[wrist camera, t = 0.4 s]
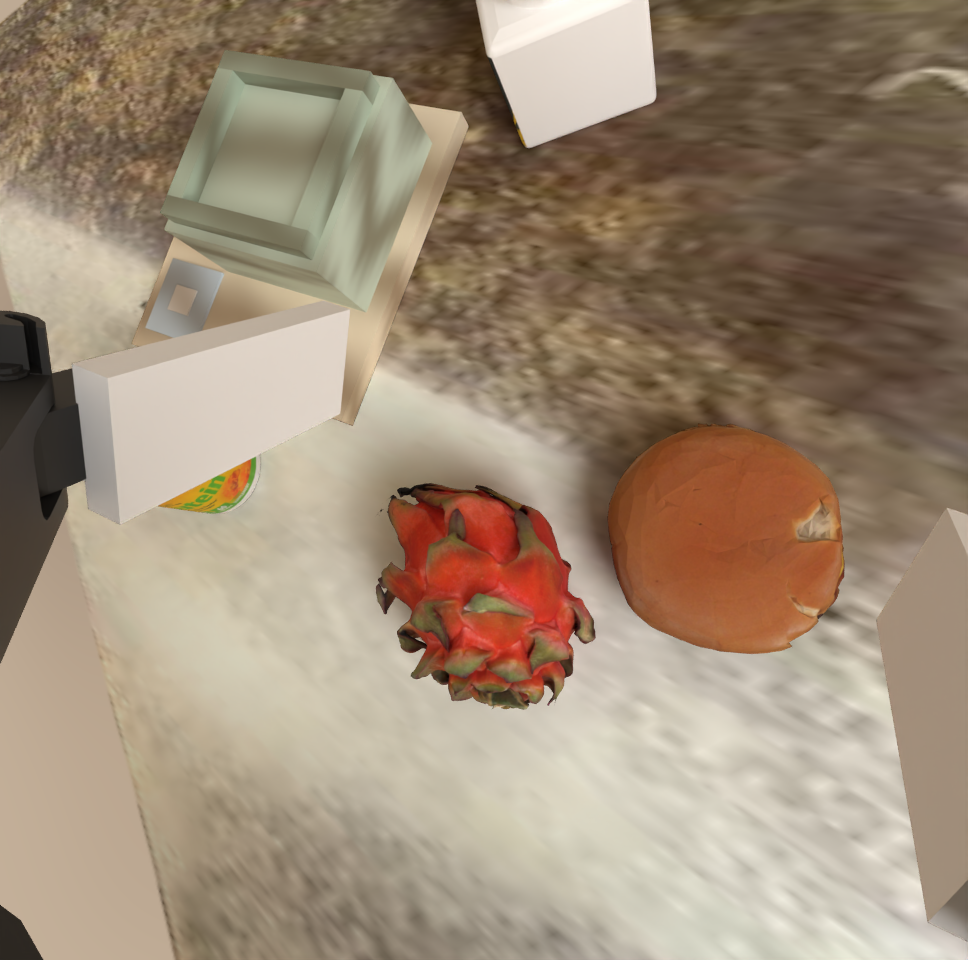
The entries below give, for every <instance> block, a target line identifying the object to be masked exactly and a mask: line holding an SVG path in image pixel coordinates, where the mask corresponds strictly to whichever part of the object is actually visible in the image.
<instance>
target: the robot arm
mask: <svg viewBox="0 0 968 960" xmlns="http://www.w3.org/2000/svg"><path fill="white" fill-rule="evenodd" d="M349 317H350V309H348V308H345V307H342V306H339V305H336V304H333V303H330V302H327V301H320V302H316V303H312V304H308V305H304V306H300V307H296V308H292V309H288V310H284V311H280V312H276V313H272V314H268V315H264V316H260V317H256V318H252V319H248V320H244V321H240V322H236V323H232V324H228V325H224V326H220V327H215V328H211V329H207V330H203V331H199V332H195V333H191V334H187V335H183V336H179V337H175V338H171V339H167V340H163V341H159V342H155V343H151V344H147V345H143V346H139V347H135V348H131V349H127V350H123V351H119V352H115V353H111V354H107V355H103V356H99V357H95V358H91V359H87V360H83V361H79V362H75V363H72V369H68V370H64V371H60V372H56V373H52V371H51V364H50V356H49V348H48V340H47V333H46V325H45V322H44V321H42V320H41V319H40V318H38V317H35V316H32V315H29V314H25V313H19V312H12V311H0V663H1V661H2V659H3V656H4V654H5V652H6V649H7V647H8V645H9V642H10V640H11V638H12V635H13V633H14V631H15V628H16V626H17V624H18V621H19V619H20V617H21V614H22V612H23V610H24V608H25V605H26V603H27V600H28V598H29V596H30V594H31V591H32V589H33V587H34V584H35V582H36V580H37V577H38V575H39V573H40V570H41V568H42V566H43V563H44V561H45V559H46V556H47V554H48V552H49V550H50V547H51V545H52V542H53V540H54V538H55V536H56V533H57V531H58V529H59V526H60V524H61V522H62V519H63V517H64V515H65V512H66V510H67V508H68V495H67V487H68V486H71V485H73V484H75V483H78V482H80V481H83V480H85V485H86V494H87V503H88V509H89V510H91V511H93V512H95V513H97V514H99V515H101V516H103V517H106V518H108V519H110V520H112V521H114V522H116V523H118V524H120V525H121V524H123V523H125V522H127V521H129V520H131V519H133V518H135V517H137V516H139V515H141V514H143V513H145V512H147V511H149V510H151V509H153V508H155V507H156V506H158V505H160V504H162V503H164V502H166V501H168V500H170V499H172V498H174V497H176V496H178V495H180V494H182V493H184V492H186V491H188V490H190V489H192V488H194V487H196V486H198V485H200V484H202V483H204V482H206V481H208V480H210V479H212V478H214V477H216V476H218V475H220V474H222V473H224V472H226V471H228V470H230V469H232V468H234V467H236V466H238V465H240V464H242V463H244V462H246V461H248V460H250V459H252V458H254V457H256V456H258V455H260V454H262V453H264V452H266V451H267V450H269V449H271V448H273V447H275V446H277V445H279V444H281V443H283V442H285V441H287V440H289V439H291V438H293V437H295V436H297V435H299V434H301V433H303V432H305V431H307V430H309V429H311V428H313V427H315V426H317V425H319V424H321V423H323V422H325V421H327V420H329V419H331V418H333V417H335V416H337V415H339V414H340V411H341V401H342V391H343V380H344V370H345V359H346V349H347V338H348V328H349ZM876 622H877V628H878V634H879V640H880V645H881V651H882V657H883V663H884V669H885V675H886V681H887V686H888V692H889V698H890V704H891V710H892V716H893V722H894V727H895V733H896V739H897V745H898V751H899V757H900V763H901V768H902V774H903V780H904V786H905V792H906V798H907V804H908V809H909V815H910V821H911V827H912V833H913V839H914V844H915V850H916V856H917V862H918V868H919V874H920V880H921V885H922V891H923V897H924V903H925V909H926V915H927V921H928V923H930V924H932V925H934V926H936V927H938V928H940V929H943V930H945V931H947V932H949V933H951V934H953V935H955V936H957V937H959V938H961V939H963V940H965V941H967V942H968V515H967V514H964V513H961V512H958V511H955V510H952V509H949V508H946V509H945V511H944V512H943V514H942V516H941V517H940V519H939V520H938V522H937V524H936V525H935V527H934V528H933V530H932V532H931V533H930V535H929V536H928V538H927V540H926V541H925V543H924V544H923V546H922V548H921V549H920V551H919V552H918V554H917V556H916V557H915V559H914V560H913V562H912V564H911V565H910V567H909V568H908V570H907V572H906V573H905V575H904V576H903V578H902V580H901V581H900V583H899V584H898V586H897V588H896V589H895V591H894V592H893V594H892V596H891V597H890V599H889V600H888V602H887V604H886V605H885V607H884V608H883V610H882V612H881V613H880V615H879V616H878V618H877V620H876ZM0 960H43V959H42V957H41V955H40V953H39V952H38V950H37V948H36V946H35V944H34V943H33V941H32V939H31V938H30V936H29V934H28V932H27V930H26V929H25V927H24V925H23V923H22V922H21V920H20V919H18V918H17V917H16V916H14V915H13V914H11V913H10V912H9V911H7V910H6V909H5V908H3V907H2V906H1V905H0Z"/></svg>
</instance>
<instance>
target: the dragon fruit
mask: <svg viewBox="0 0 968 960" xmlns="http://www.w3.org/2000/svg"><path fill="white" fill-rule="evenodd" d="M475 488H477V489H479V490H477V491H472V490H457V489H452V488H448V487H445V486H442V485H437V484H432V483H429V484H422V485H416V486H414V487H412V488H411V489H409V488H406V487H404V488H399V489H398V490H397V491H398V493H399V495H400V497H403V496H404V495H411V496H412V497H415V498H416V500H417V501H418V502H419V503H418V504H417V505H412V504H411V503H408V502H407V501H405V500H400V499H397V498H396V496H394V495H392V496H391V497H390V498H391V501H390V503H389V508H388V511H387V513H388V515H389V518H390V521H391V523H392V525H393V527H394V528H395V530H396V533H397V535H398V540H399V542H400V544H401V546H402V547H403V548H404V551H405V570H404V571H402V570H401V569H399V568H397V567H396V566H395V565H393V563H392V562H391V563H390V564H389V566H388V567H386V568H385V569H384V570H383V571H382V573H381V574H382V577H381V578H379V579H378V581H379V583H380V584H378V585H377V586H376V594H377V599H378V603H379V604H380V606H381V608H382V610H383V612H384V614H387V610H388V608H389V607H390V605H391V604H392V602H393V600H394V599H395V597H397V598H399V599H400V600H401V601H403V602H404V603H406V604H407V605H408V606H409V607H410V609H411V610H412V614H411V617H410V619H409V621H408V622H407V623H405V624H404V625H403V626H401V628H400V629H399V630H398V631H397V635H398V637H399V642H400V644H401V645H400V646H401V648H402V649H403V650H404V651H406V652H408V653H414V652H416V651H418V650H420V649H421V648H425V649H426V651H425V653H424V654H423V656H422V658H421V660H420V662H419V664H418V665H417V667H416V669H415V670H414V672H412V673H411V677H412V678H414V679H420V678H421V677H426V676H428V675H429V674H430V673H431V675H432V676H433V679H434V680H436V681H437V682H438V683H440V684H442V685H446V684H448V689H449V693H450V695H451V700H452V701H461V700H466V699H470V698H471V697H473V698H474V699H475V700H476V701H478V702H481V703H485V704H486V703H487V704H488V705H489V706H493V708H495V707H501V708H503V709H509V708H510V707H511V708H519V709H523V710H524V709H527V707H528V706H529V704H528V703H530V702H531V703H534V704H537V703H538V702H539V701H540V700H541V699H542V697H543V695H544V685H546V686H548V687H549V688H550V689H551V690H552V692H553V693H554V694H553V697H552V698H551V699H550V701H549V703H548V704H547V705H548V706H549V704H550V703H551V702H552V701H553V700H554V699H556V698H557V696H558V695H559V693H560V692H561V690H562V689H563V686H564V678H566V677H568V676H571V674H572V673H573V648H572V646H571V645H570V644H569V643H568V640H569V638H570V636H571V634H572V633H573V632H574V631H575V633H574V634H575V635H576V636H578V638H579V640H580V641H581V642H582V643H584V644H587V643H589V642H591V641H593V640H594V639H595V630H594V620H593V618H592V616H591V615H590V613H589V611H588V610H587V609H586V607H585V605H584V603H583V601H582V599H580V598H576V597H574V596H573V595H572V594H571V593H570V592H568V576H569V572H570V571H571V565H570V564H569V563H568V562H567V561H565V560H563V559H561V557H560V554H559V551H558V548H557V544H556V541H555V537H554V535H553V532H552V528H551V526H550V524H549V523H548V521H547V520H546V519H545V517H544V516H543V515H542V514H541V513H540V512H539V511H537V510H535V509H533V508H531V507H529V506H526V505H522V504H520V503H518V502H515V501H513V500H511V499H510V498H507V497H504V496H502V495H500V494H498V493H497V492H495V491H493V490H492V489H489V488H487V487H484V486H478V485H476V487H475ZM490 490H491V491H490ZM492 491H493V492H492ZM490 494H491V495H492V496H491V495H490ZM381 509H382V508H381ZM381 511H382V510H381ZM380 585H381V586H380ZM381 587H382V588H387V589H388V590H387V591H386V593H385V594H384V592H383V590H382V588H381ZM418 637H421V638H422V640H423V641H424V642H425V643H426V644H427V645H426V644H425V643H423V642H421V641H418V640H416V639H415V638H418ZM555 701H556V700H555ZM493 708H492V709H493Z"/></svg>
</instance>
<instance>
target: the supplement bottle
mask: <svg viewBox="0 0 968 960" xmlns="http://www.w3.org/2000/svg"><path fill="white" fill-rule="evenodd" d="M260 468H261V460H260V455H258V456H256V457H254V458H252V459H250V460H248V461H246V462H244V463H242V464H240V465H238V466H236V467H234V468H232V469H230V470H228V471H226V472H224V473H222V474H220V475H218V476H216V477H214V478H212V479H210V480H208V481H206V482H204V483H202V484H200V485H198V486H196V487H194V488H192V489H190V490H188V491H186V492H184V493H182V494H180V495H178V496H176V497H174V498H172V499H170V500H168V501H166V502H164V503H162V504H160V505H158V506H160V507H167V508H174V509H181V510H188V511H195V512H201V513H210V514H222V513H227V512H230V511H232V510H234V509H236V508H238V507H239V506H241V505H242V504H243V503H244V502H245V501H246V500H247V499H248V498H249V497H250V495H251V494H252V492H253V491H254V489H255V487H256V484H257V482H258V479H259V475H260ZM83 481H85V480H83Z"/></svg>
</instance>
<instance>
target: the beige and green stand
mask: <svg viewBox="0 0 968 960" xmlns="http://www.w3.org/2000/svg"><path fill="white" fill-rule="evenodd" d="M468 127H469V126H468V124H467V122H466V120H465V118H464V116H463V114H462V112H457V111H451V110H445V109H439V108H433V107H427V106H420V105H414V104H408V102H407V101H406V99H405V97H404V96H403V94H402V92H401V91H400V89H399V87H398V86H397V84H396V83H395V81H394V79H393V78H389V77H382V76H375V75H373V74H372V73H371V71H365V70H358V69H352V68H345V67H338V66H331V65H324V64H317V63H311V62H304V61H297V60H290V59H283V58H276V57H270V56H263V55H256V54H249V53H242V52H235V51H229V50H225V51H224V54H223V56H222V59H221V61H220V64H219V66H218V69H217V71H216V74H215V76H214V79H213V81H212V84H211V86H210V89H209V91H208V94H207V96H206V99H205V101H204V104H203V106H202V109H201V111H200V114H199V116H198V119H197V121H196V124H195V126H194V129H193V131H192V134H191V136H190V139H189V141H188V144H187V146H186V149H185V151H184V154H183V156H182V159H181V161H180V164H179V166H178V169H177V171H176V174H175V176H174V179H173V181H172V184H171V186H170V189H169V191H168V194H167V196H166V199H165V201H164V204H163V206H162V209H161V211H160V213H161V214H162V215H164V216H165V217H167V218H168V221H167V224H166V226H165V229H164V230H165V231H167V232H168V233H170V234H171V235H173V236H174V238H173V240H172V243H171V245H170V248H169V250H168V253H167V255H166V258H165V260H164V263H163V265H162V268H161V271H160V273H159V276H158V278H157V281H156V283H155V286H154V288H153V291H152V293H151V296H150V298H149V301H148V303H147V306H146V308H145V311H144V313H143V316H142V318H141V321H140V323H139V326H138V328H137V331H136V333H135V336H134V338H133V341H132V343H131V344H133V345H136V346H138V347H139V346H143V345H147V344H151V343H155V342H159V341H163V340H167V339H171V338H175V337H179V336H183V335H187V334H191V333H195V332H199V331H203V330H207V329H211V328H215V327H220V326H224V325H228V324H232V323H236V322H240V321H244V320H248V319H252V318H256V317H260V316H264V315H268V314H272V313H276V312H280V311H284V310H288V309H292V308H296V307H300V306H304V305H308V304H312V303H316V302H320V301H327V302H330V303H333V304H336V305H339V306H342V307H345V308H348V309H350V317H349V328H348V338H347V349H346V359H345V370H344V380H343V391H342V401H341V411H340V414H339V415H337V416H335V417H333V419H336V420H338V421H341V422H344V423H347V424H349V425H352V426H353V423H354V421H355V418H356V415H357V413H358V410H359V408H360V405H361V403H362V400H363V397H364V395H365V392H366V390H367V387H368V384H369V382H370V379H371V377H372V374H373V372H374V369H375V366H376V364H377V361H378V359H379V356H380V354H381V351H382V348H383V346H384V343H385V341H386V338H387V336H388V333H389V330H390V328H391V325H392V323H393V320H394V317H395V315H396V312H397V310H398V307H399V305H400V302H401V299H402V297H403V294H404V292H405V289H406V287H407V284H408V281H409V279H410V276H411V274H412V271H413V268H414V266H415V263H416V261H417V258H418V256H419V253H420V250H421V248H422V245H423V243H424V240H425V238H426V235H427V232H428V230H429V227H430V225H431V222H432V219H433V217H434V214H435V212H436V209H437V207H438V204H439V201H440V199H441V196H442V194H443V191H444V189H445V186H446V183H447V181H448V178H449V176H450V173H451V171H452V168H453V165H454V163H455V160H456V158H457V155H458V152H459V150H460V147H461V145H462V142H463V140H464V137H465V134H466V132H467V129H468Z"/></svg>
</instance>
